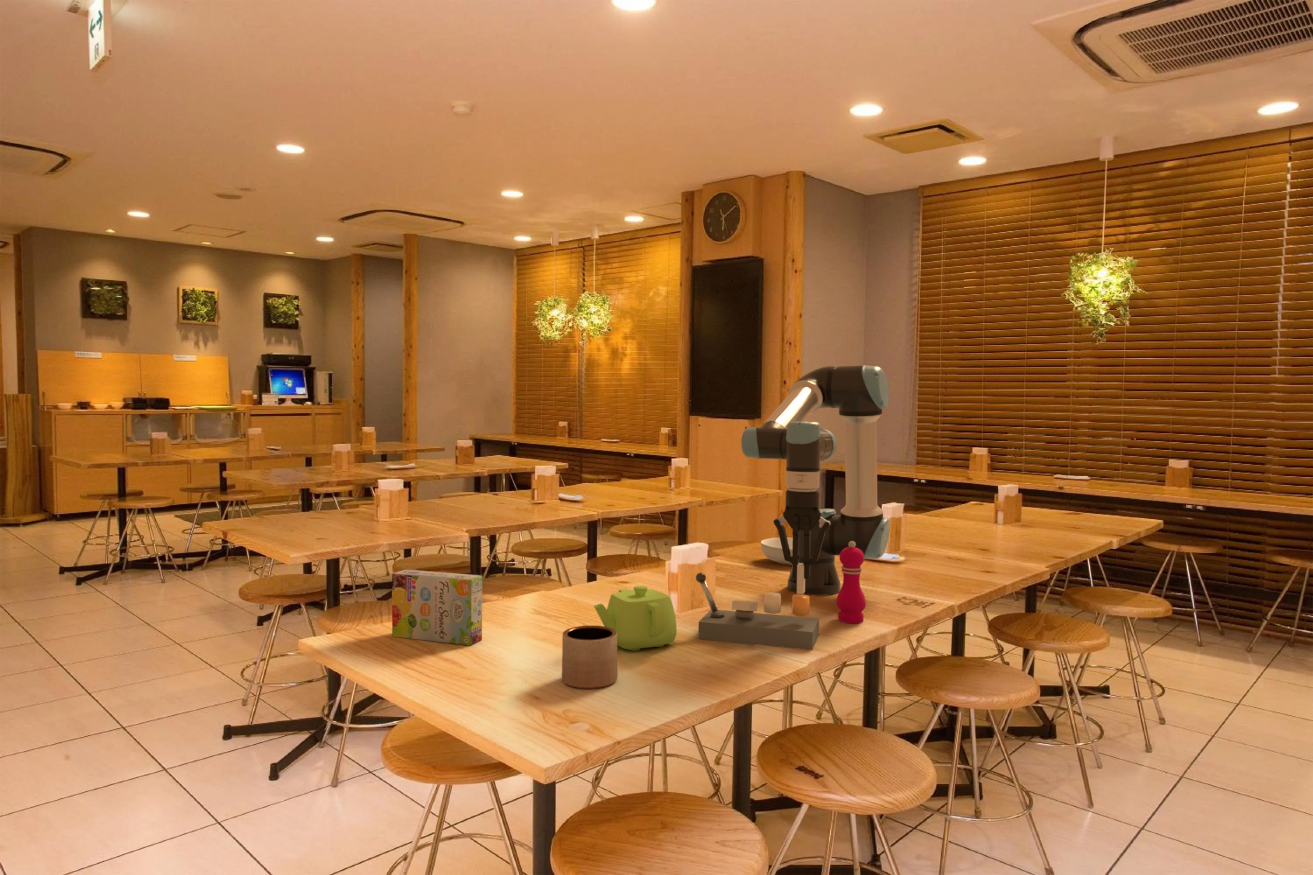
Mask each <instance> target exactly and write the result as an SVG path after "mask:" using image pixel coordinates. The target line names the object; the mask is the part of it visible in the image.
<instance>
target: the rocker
mask: <svg viewBox="0 0 1313 875" xmlns="http://www.w3.org/2000/svg"><path fill="white" fill-rule="evenodd" d="M736 610H743V611H754V612H758V602H755V601H751V600H740V599H734V600H731V611H736Z"/></svg>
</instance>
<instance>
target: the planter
mask: <svg viewBox="0 0 1313 875" xmlns="http://www.w3.org/2000/svg"><path fill="white" fill-rule="evenodd" d="M561 635H562V644H561V647H562V648H561V649H562V651H561V653H562V654H561V656H562V657H561V658H562V659H561V677H562V678H561V680H562V682H563V683H564V684H566V685H567V686H569V687H572V688H573V689H574V688H575V689H578V690H579V689H580V690H596V689H602V688H603V689H604V688H606V687H608V686H611V685H612V684H614V683H615V682H616V681H617V679H618V645H617V631H616V630H614V629H612V628H609V627H605V626H604V625H580V626H573V627H570V628H567V629H565V630H564V631H563V632H562V634H561Z"/></svg>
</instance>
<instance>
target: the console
mask: <svg viewBox="0 0 1313 875" xmlns="http://www.w3.org/2000/svg"><path fill="white" fill-rule="evenodd" d="M819 636H820V618H819V617H818V618H817V617H807V616H797V615H783V614H772V613H762V612H761V613H758V612H755V611H743V610H724V609H718V611H717V612H714V613H713V612H712V610H711V609H710V610H709V611H708V612H707V613H706V614H705V615H704V616H703V617H702V618H701V619H700V620H699V621H698V640H705V641H706V640H708V641H717V642H726V643H727V642H728V643H737V644H746V645H756V646H757V645H758V646H769V647H776V648H777V647H779V648H789V649H799V650H807V651H808V650H809V651H813V650H814V648H815V645H816V643H817V641H818V638H819Z"/></svg>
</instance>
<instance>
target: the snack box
mask: <svg viewBox="0 0 1313 875" xmlns="http://www.w3.org/2000/svg"><path fill="white" fill-rule="evenodd" d="M391 575H392V576H391V603H392V604H391V607H392V608H391V626H392V627H391V628H392V630H391V632H392V633H391V635H392V637H393V638H402V639H403V638H404V639H412V640H421V641H429V642H438V643H447V644H454V645H455V644H456V645H464V646H472V645H474V644H476V643H479V642H481V641H483V575H479V574H465V573H455V572H442V571H441V572H439V571H427V570H415V569H403V570H399V571H396V572H393V573H392V574H391Z"/></svg>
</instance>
